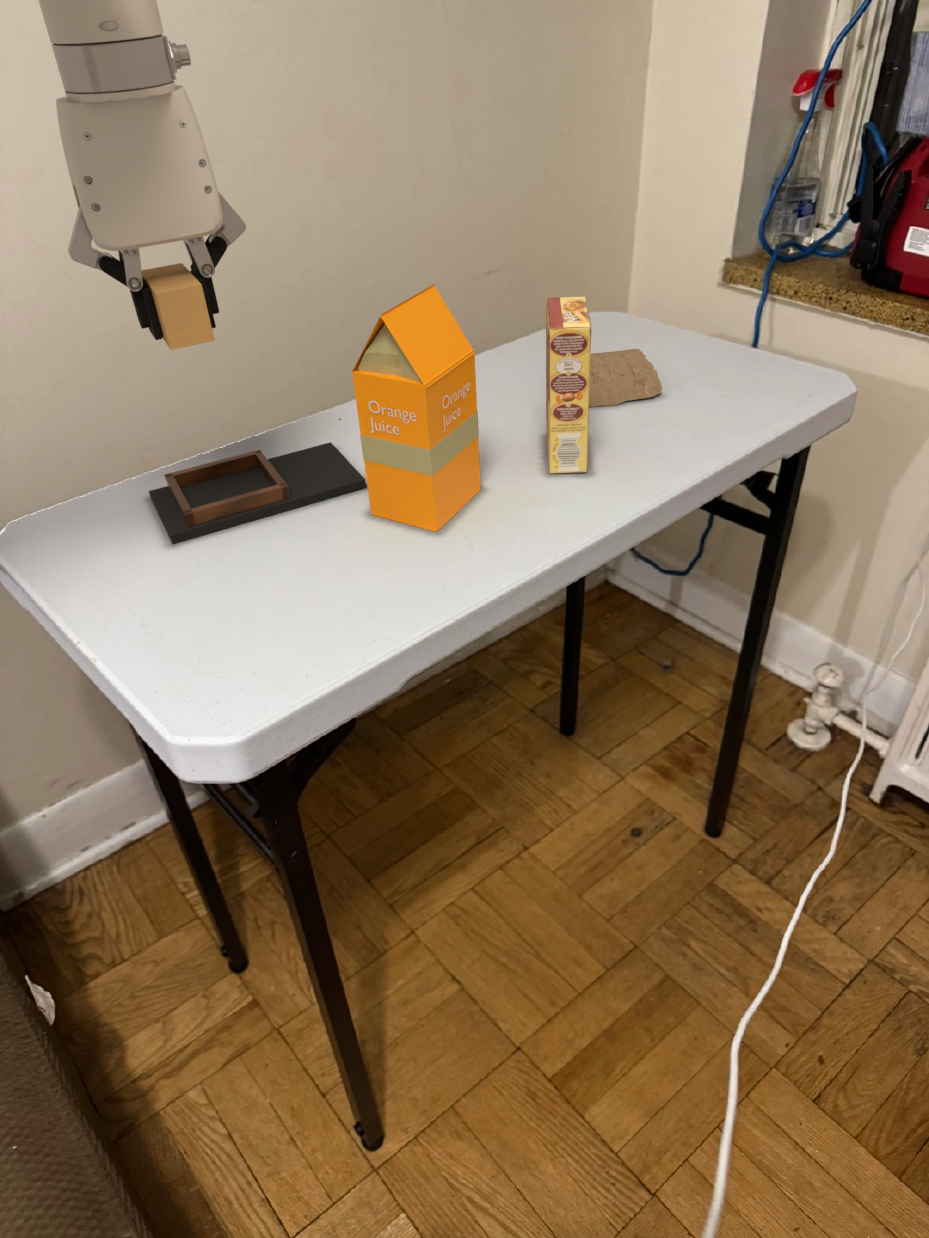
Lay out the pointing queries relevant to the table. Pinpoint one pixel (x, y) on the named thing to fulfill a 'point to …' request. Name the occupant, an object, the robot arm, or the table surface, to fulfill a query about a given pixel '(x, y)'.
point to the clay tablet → (621, 378)
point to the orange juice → (418, 414)
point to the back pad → (250, 489)
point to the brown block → (179, 305)
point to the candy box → (567, 383)
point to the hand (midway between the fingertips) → (182, 327)
